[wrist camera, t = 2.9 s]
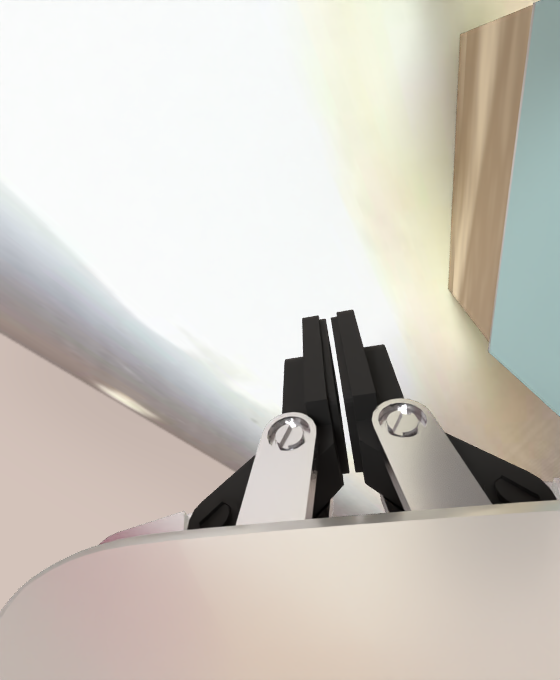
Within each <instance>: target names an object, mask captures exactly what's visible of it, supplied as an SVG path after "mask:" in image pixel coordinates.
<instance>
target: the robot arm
mask: <svg viewBox="0 0 560 680" xmlns="http://www.w3.org/2000/svg"><path fill="white" fill-rule="evenodd" d="M331 322H332V329H333V335H334V341H335V348H336V354H337V360H338V366H339V373H340V379H341V385H342V392H343V398H344V404H345V410H346V416H347V422H348V429H349V435H350V441H351V447H352V453H353V459H354V465H355V471H356V472H363V474H364V480H365V483H366V484H367V485H368V486H370V487H371V488H373V489H374V490H376V491H377V492H379V493H380V497H381V501H382V504H383V507H384V509H385V512H386V513H379V514H366V515H354V516H342V517H333V506H334V505H333V496H334V495H335V494H336V493H337V492H338V491H339V490H340V488H341V487H342V486H343V485H344V482H343V474H346V473H349V465H348V458H347V451H346V444H345V437H344V430H343V423H342V416H341V409H340V402H339V395H338V388H337V382H336V376H335V370H334V365H333V359H332V353H331V347H330V341H329V336H328V330H327V324H326V319H320V320H319V316H312V317H306V318H302V327H303V357H298V358H291V359H286V360H285V364H284V386H283V407H282V414H281V415H279V416H277V417H275V418H274V419H272V420H271V421H270V422H269V423H268V424H267V425H266V426H265V428H264V430H263V432H262V435H261V439H260V442H259V446H258V449H257V453H256V455H255V456H253V457H252V458H251V459H250V460H249V461H248V462H247V463H246V464H244V465H243V466H242V467H241V468H240V469H239V470H238V471H236V472H235V473H234V474H233V475H232V476H231V477H230V478H228V479H227V480H226V481H225V482H224V483H223V484H222V485H220V486H219V487H218V488H217V489H216V490H215V491H214V492H213V493H212V494H210V495H209V496H208V497H207V498H206V499H205V500H204V501H202V502H201V503H200V504H199V505H198V507H197V508H196V509H195V510H194V512H193V513H190V514H186V513H185V511H183V512H179V513H176V514H173V515H170V516H167V517H164V518H161V519H158V520H155V521H151V522H148V523H145V524H143V525H139V526H136V527H133V528H130V529H127V530H123V531H120V532H117V533H115V534H113V535H111V536H109V537H107V538H106V539H105V540H104V541H102V542H101V543H100V544H99V545H97V546H94V547H91V548H88V549H85V550H83V551H80V552H78V553H75V554H73V555H71V556H69V557H67V558H65V559H63V560H61V561H59V562H57V563H55V564H53V565H52V566H50V567H48V568H47V569H45V570H43V571H42V572H40V573H39V574H37V575H36V576H34V577H33V578H31V579H30V580H29V581H28V582H26V583H25V584H24V585H23V586H22V587H21V588H20V589H19V590H18V591H17V592H16V593H15V594H14V595H13V596H12V597H11V598H10V600H9V601H8V602H7V603H6V605H5V606H4V607H3V609H2V610H1V611H0V680H560V478H554V480H553V482H545V481H542V480H541V479H540V478H538V477H536V476H535V475H533V474H531V473H530V472H528V471H526V470H524V469H521V468H519V467H517V466H515V465H513V464H511V463H509V462H507V461H504V460H502V459H500V458H498V457H496V456H494V455H492V454H490V453H487V452H485V451H483V450H481V449H479V448H477V447H475V446H473V445H470V444H468V443H466V442H464V441H462V440H460V439H458V438H455V437H453V436H451V435H449V434H447V433H445V432H444V431H443V430H442V428H441V427H440V425H439V424H438V422H437V421H436V419H435V418H434V416H433V415H432V413H431V412H430V411H429V410H428V409H427V408H426V406H424V405H422V404H421V403H419V402H417V401H413V400H410V399H404V397H403V394H402V392H401V389H400V386H399V383H398V381H397V378H396V375H395V372H394V370H393V367H392V364H391V361H390V358H389V356H388V353H387V350H386V348H385V345H384V344H383V345H377V346H370V347H363V344H362V340H361V337H360V333H359V329H358V326H357V322H356V318H355V315H354V311H353V310H348V311H342V312H337V317H332V318H331Z"/></svg>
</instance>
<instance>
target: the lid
mask: <svg viewBox="0 0 560 680" xmlns="http://www.w3.org/2000/svg"><path fill="white" fill-rule="evenodd" d="M488 352H489V353H490V354H491V355H492V356H494V357H495V358H496V359H497V360H498V361H499V362H500V363H501V364H502V365H503V366H505V367H506V368H507V369H508V370H509V371H510V372H511V373H512V374H513V375H514V376H516V377H517V378H518V379H519V380H520V381H521V382H522V383H523V384H524V385H525V386H527V387H528V388H529V389H530V390H531V391H532V392H533V393H534V394H535V395H536V396H538V397H539V398H540V399H541V400H542V401H543V402H544V403H545V404H546V405H547V406H548V407H550V408H551V409H552V410H553V411H554V412H555V413H556V414H557V415H558V416H559V417H560V0H540V1H538V2H535V3H533V8H532V15H531V23H530V31H529V38H528V46H527V54H526V61H525V69H524V77H523V85H522V92H521V100H520V108H519V115H518V123H517V131H516V139H515V146H514V154H513V162H512V169H511V177H510V185H509V193H508V200H507V208H506V216H505V223H504V231H503V239H502V247H501V254H500V262H499V270H498V277H497V285H496V293H495V300H494V308H493V316H492V324H491V331H490V339H489V347H488Z"/></svg>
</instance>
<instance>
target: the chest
mask: <svg viewBox="0 0 560 680" xmlns="http://www.w3.org/2000/svg"><path fill="white" fill-rule="evenodd" d="M532 8H533V5H531V6H529V7H526V8H524V9H521V10H519V11H516V12H514V13H512V14H509V15H507V16H504V17H502V18H499V19H497V20H494V21H492V22H489V23H487V24H484V25H482V26H479V27H477V28H475V29H472V30H470V31H467V32H465V33H462V34H460V52H459V73H458V94H457V115H456V136H455V157H454V178H453V199H452V220H451V241H450V262H449V283H448V289H449V290H450V292H451V293H452V294H453V296H454V297H455V298H456V300H457V301H458V302H459V303H460V305H461V306H462V307H463V309H464V310H465V311H466V313H467V314H468V315H469V317H470V318H471V319H472V321H473V322H474V323H475V324H476V326H477V327H478V328H479V330H480V331H481V332H482V334H483V335H484V336H485V338H486V339H487V340H488V342H489V339H490V331H491V324H492V316H493V308H494V300H495V293H496V285H497V277H498V270H499V262H500V254H501V247H502V239H503V231H504V223H505V216H506V208H507V200H508V193H509V185H510V177H511V169H512V162H513V154H514V146H515V139H516V131H517V123H518V115H519V108H520V100H521V92H522V85H523V77H524V69H525V61H526V54H527V46H528V38H529V31H530V23H531V15H532Z"/></svg>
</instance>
